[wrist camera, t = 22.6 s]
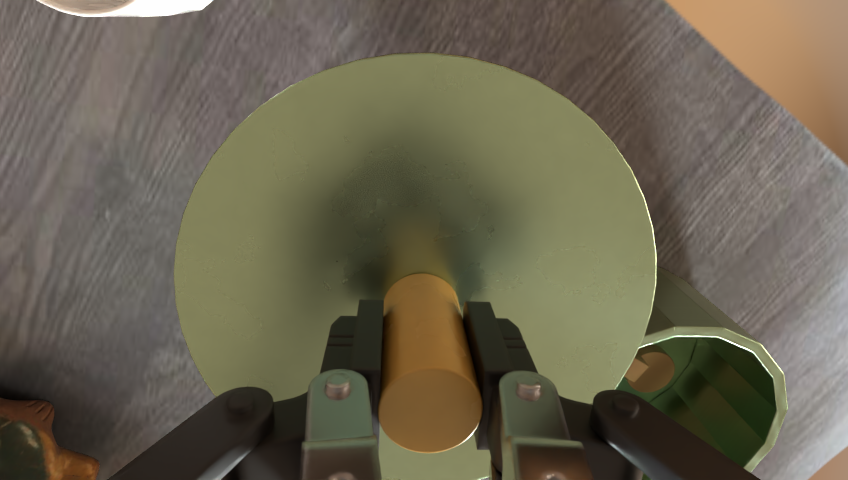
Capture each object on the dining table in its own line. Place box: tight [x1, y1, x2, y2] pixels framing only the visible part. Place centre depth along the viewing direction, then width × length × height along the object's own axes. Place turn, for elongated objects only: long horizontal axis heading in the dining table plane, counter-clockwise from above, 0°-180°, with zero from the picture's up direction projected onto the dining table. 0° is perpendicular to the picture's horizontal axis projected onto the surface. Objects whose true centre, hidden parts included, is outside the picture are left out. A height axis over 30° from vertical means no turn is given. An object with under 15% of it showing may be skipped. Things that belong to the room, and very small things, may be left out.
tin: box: [615, 266, 788, 480], centre depth 36 cm, size 14×14×10 cm
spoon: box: [624, 344, 675, 393], centre depth 39 cm, size 10×4×3 cm, turn 58°
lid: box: [174, 52, 657, 480], centre depth 14 cm, size 15×15×6 cm
